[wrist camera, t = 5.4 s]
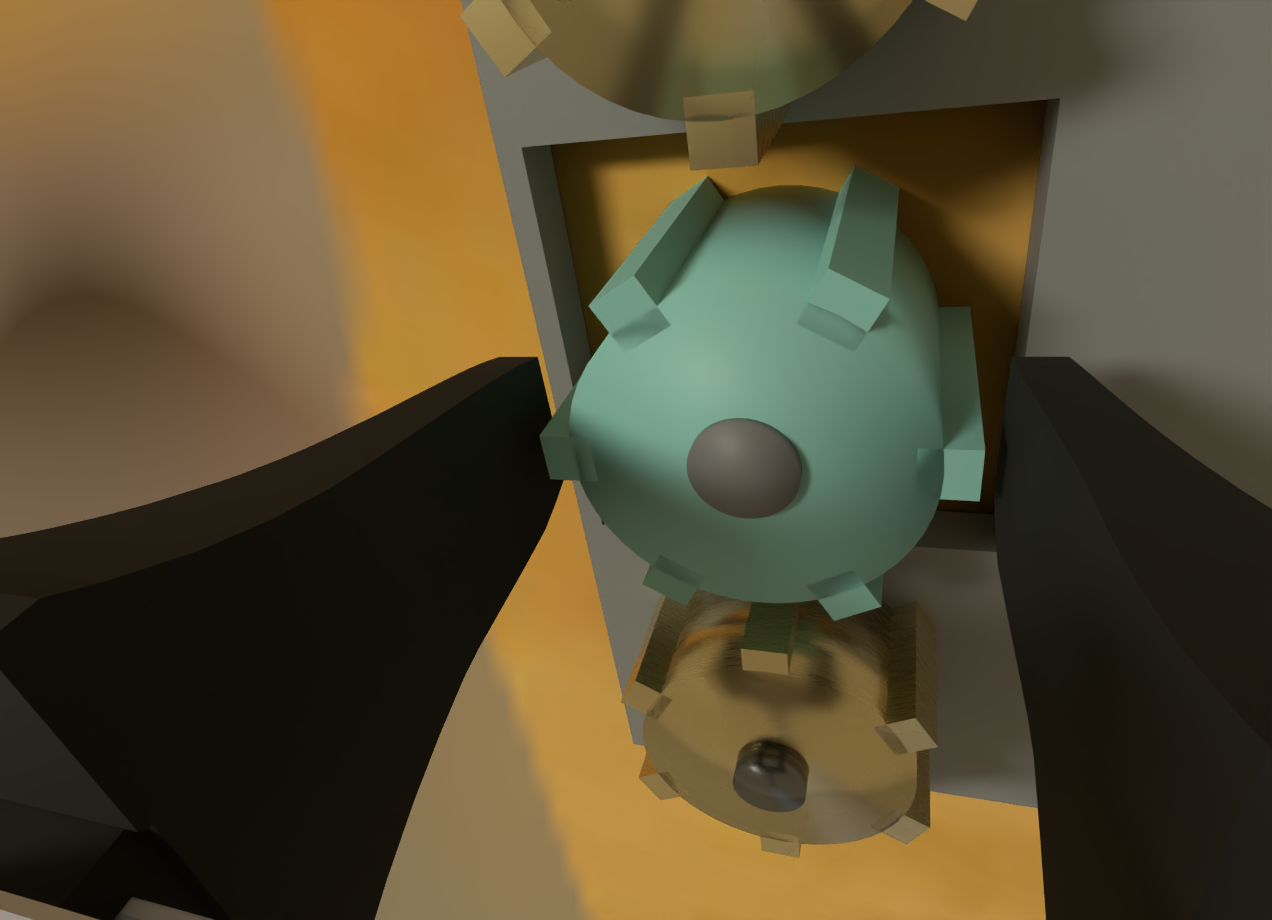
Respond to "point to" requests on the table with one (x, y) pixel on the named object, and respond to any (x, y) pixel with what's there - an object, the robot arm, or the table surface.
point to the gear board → (1048, 327)
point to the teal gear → (774, 397)
